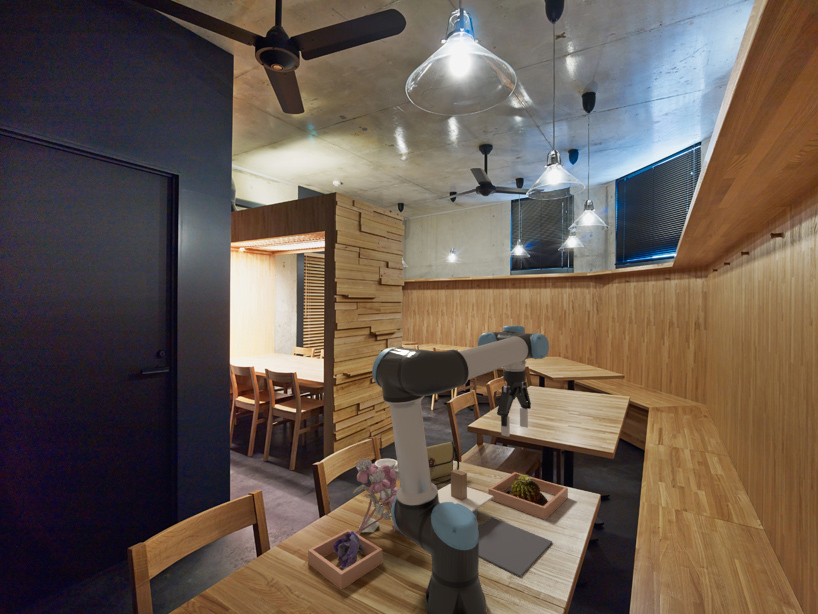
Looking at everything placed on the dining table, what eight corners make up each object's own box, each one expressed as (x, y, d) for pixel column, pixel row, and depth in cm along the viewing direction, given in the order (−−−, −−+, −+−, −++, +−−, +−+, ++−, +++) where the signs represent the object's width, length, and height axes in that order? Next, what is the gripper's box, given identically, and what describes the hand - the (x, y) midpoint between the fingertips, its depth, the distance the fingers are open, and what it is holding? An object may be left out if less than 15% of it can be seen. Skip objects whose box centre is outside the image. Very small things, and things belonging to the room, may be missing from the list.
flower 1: (358, 524, 121) (341, 524, 114) (376, 545, 116) (359, 546, 108) (341, 551, 120) (322, 552, 112) (358, 573, 115) (339, 576, 107)
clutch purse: (406, 493, 157) (406, 456, 157) (398, 487, 163) (398, 451, 163) (463, 477, 172) (462, 444, 173) (453, 472, 178) (453, 439, 179)
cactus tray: (544, 519, 136) (544, 508, 136) (488, 498, 152) (488, 488, 152) (567, 497, 152) (567, 487, 153) (514, 481, 168) (514, 472, 168)
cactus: (494, 498, 153) (494, 474, 153) (518, 487, 163) (518, 464, 163) (532, 516, 139) (532, 489, 139) (555, 502, 149) (555, 477, 149)
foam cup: (394, 501, 150) (394, 468, 150) (372, 499, 152) (372, 466, 152) (400, 490, 159) (400, 459, 160) (378, 488, 161) (378, 457, 161)
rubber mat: (520, 577, 106) (520, 575, 106) (455, 545, 121) (455, 544, 121) (552, 542, 122) (552, 541, 122) (491, 518, 137) (491, 517, 137)
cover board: (465, 516, 127) (465, 487, 127) (424, 499, 139) (424, 472, 139) (493, 497, 140) (493, 471, 140) (453, 483, 152) (453, 459, 153)
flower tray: (341, 589, 102) (341, 574, 102) (308, 563, 113) (308, 549, 113) (382, 562, 113) (382, 549, 113) (348, 541, 124) (348, 528, 124)
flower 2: (375, 560, 111) (405, 473, 119) (327, 525, 126) (357, 449, 133) (412, 559, 125) (437, 481, 133) (366, 528, 140) (390, 459, 147)
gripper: (506, 375, 122) (507, 442, 121) (540, 367, 140) (540, 425, 139) (486, 372, 127) (486, 437, 126) (520, 365, 145) (521, 421, 144)
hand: (515, 431), depth 133 cm, fingers open, 13 cm apart
